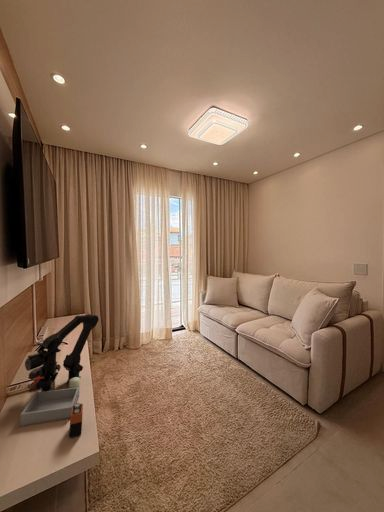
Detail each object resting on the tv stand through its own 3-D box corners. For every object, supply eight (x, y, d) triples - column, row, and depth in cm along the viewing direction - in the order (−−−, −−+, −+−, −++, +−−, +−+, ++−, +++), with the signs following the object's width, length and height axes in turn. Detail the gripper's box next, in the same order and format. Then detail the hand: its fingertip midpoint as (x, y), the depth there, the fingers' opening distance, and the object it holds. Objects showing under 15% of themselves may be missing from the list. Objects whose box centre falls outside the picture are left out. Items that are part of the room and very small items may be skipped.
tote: (35, 402, 104) (36, 392, 104) (79, 396, 110) (79, 386, 110) (19, 426, 89) (20, 414, 89) (71, 418, 95) (71, 407, 95)
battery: (82, 423, 92) (83, 400, 92) (81, 435, 86) (82, 410, 86) (70, 426, 90) (71, 403, 90) (69, 439, 84) (70, 413, 84)
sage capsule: (70, 390, 114) (70, 377, 114) (80, 389, 116) (80, 376, 116) (67, 396, 109) (68, 382, 110) (78, 394, 111) (78, 381, 111)
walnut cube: (44, 391, 112) (44, 382, 113) (54, 390, 114) (55, 381, 114) (40, 397, 108) (40, 387, 108) (51, 396, 109) (51, 386, 109)
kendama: (33, 377, 128) (29, 389, 112) (36, 366, 129) (33, 376, 114) (48, 376, 131) (46, 388, 116) (51, 366, 133) (49, 375, 118)
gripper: (39, 355, 118) (37, 383, 117) (23, 373, 100) (21, 406, 100) (61, 354, 121) (60, 381, 121) (49, 370, 103) (48, 402, 103)
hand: (47, 391), depth 111 cm, fingers closed on walnut cube, 5 cm apart
